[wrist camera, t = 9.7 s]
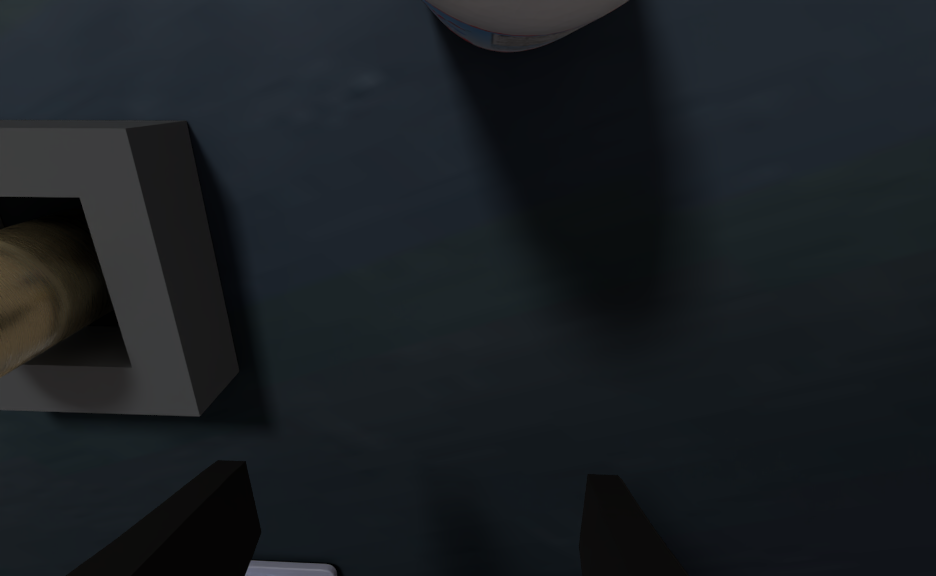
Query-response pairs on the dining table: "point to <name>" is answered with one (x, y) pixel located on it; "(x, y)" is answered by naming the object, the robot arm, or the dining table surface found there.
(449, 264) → the dining table surface
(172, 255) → the coupling block
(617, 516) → the robot arm
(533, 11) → the pill bottle
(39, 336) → the brass cylinder
